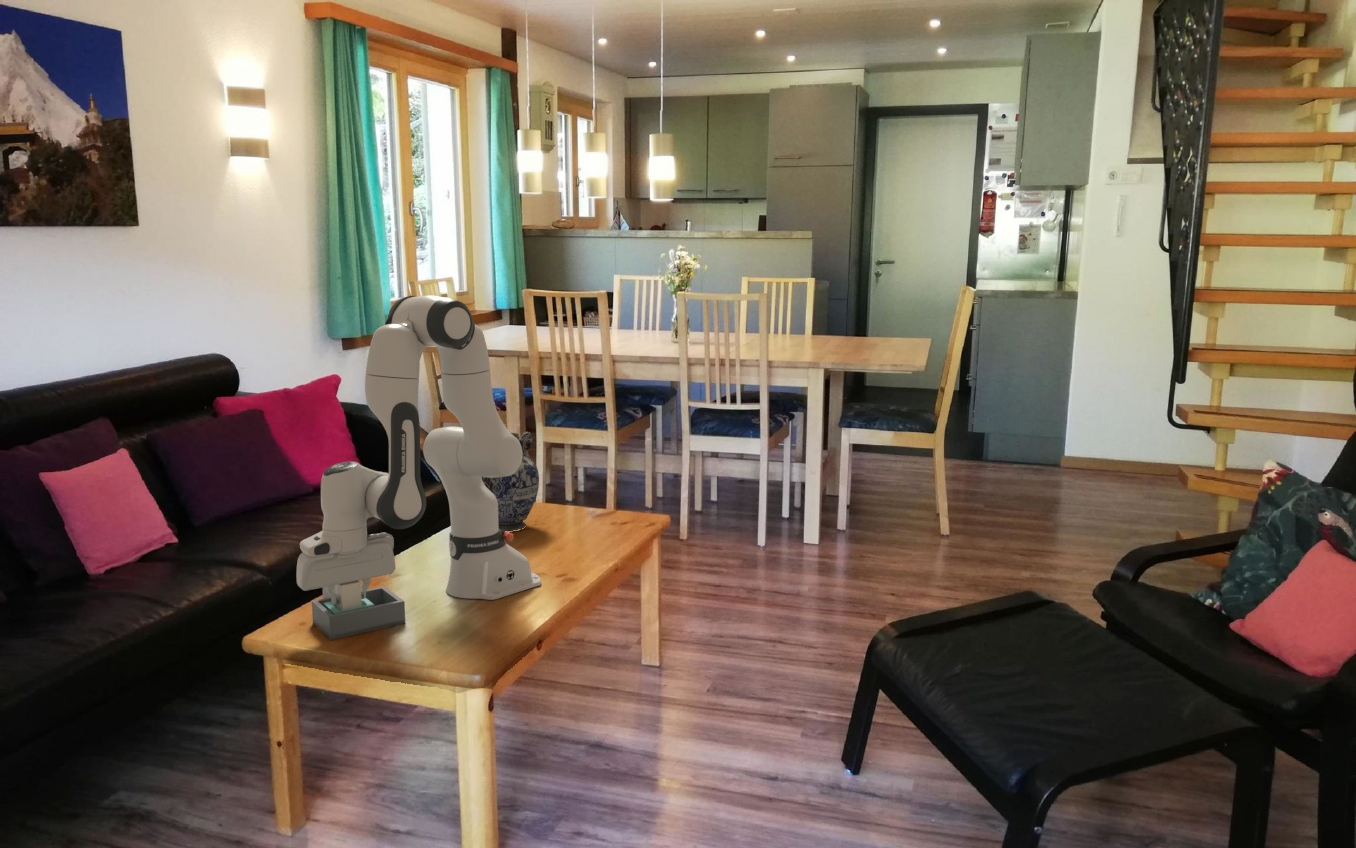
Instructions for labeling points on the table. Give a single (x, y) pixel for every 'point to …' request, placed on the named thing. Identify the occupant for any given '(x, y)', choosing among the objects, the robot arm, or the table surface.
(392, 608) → the organiser box
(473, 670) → the table surface
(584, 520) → the table surface
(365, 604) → the inlet socket
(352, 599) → the plug
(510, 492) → the decorative vase
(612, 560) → the table surface
